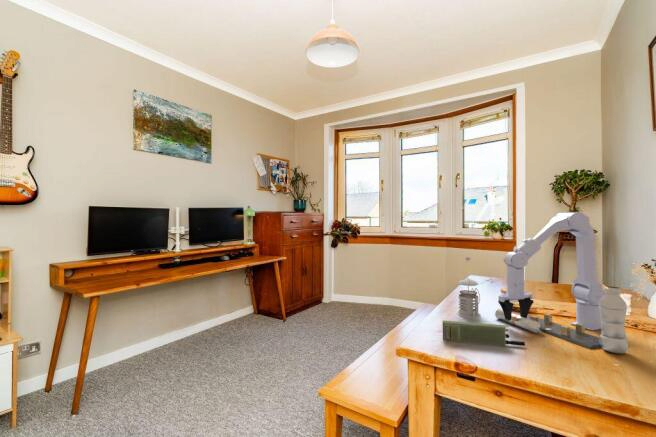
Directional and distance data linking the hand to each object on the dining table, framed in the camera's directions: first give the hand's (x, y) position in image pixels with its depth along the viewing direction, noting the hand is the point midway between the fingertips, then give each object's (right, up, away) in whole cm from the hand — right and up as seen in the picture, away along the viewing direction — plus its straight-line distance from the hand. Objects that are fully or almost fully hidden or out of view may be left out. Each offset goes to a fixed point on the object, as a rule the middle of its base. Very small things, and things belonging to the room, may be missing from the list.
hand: (515, 318), depth 123 cm
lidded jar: (+14, -3, +26) cm, 30 cm away
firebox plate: (+11, -3, -6) cm, 13 cm away
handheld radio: (-21, -4, -16) cm, 26 cm away
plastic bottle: (+16, -3, -24) cm, 29 cm away
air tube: (0, -3, 0) cm, 3 cm away
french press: (-11, -3, +14) cm, 19 cm away
